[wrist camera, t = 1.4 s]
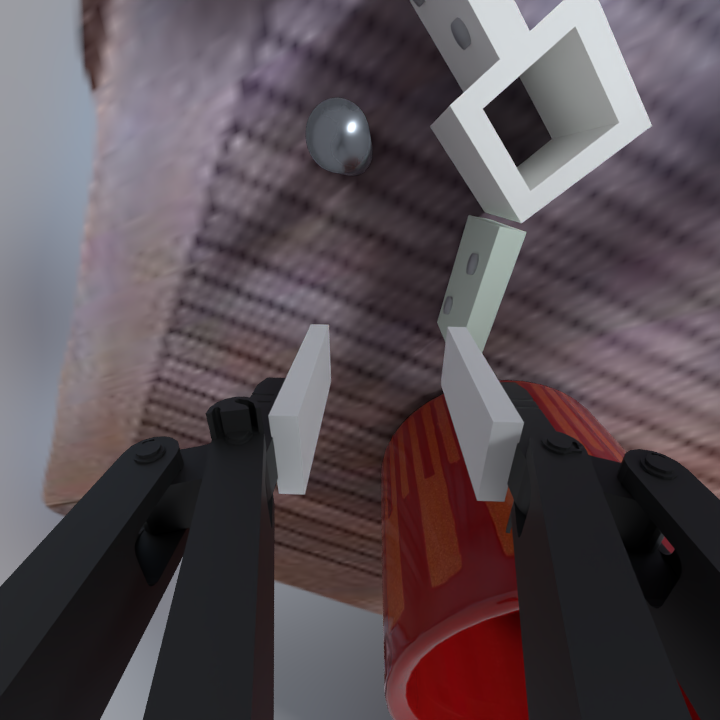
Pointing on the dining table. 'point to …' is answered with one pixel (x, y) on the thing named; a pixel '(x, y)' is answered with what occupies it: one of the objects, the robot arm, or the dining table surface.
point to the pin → (339, 137)
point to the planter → (458, 570)
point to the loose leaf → (480, 277)
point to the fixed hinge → (532, 96)
